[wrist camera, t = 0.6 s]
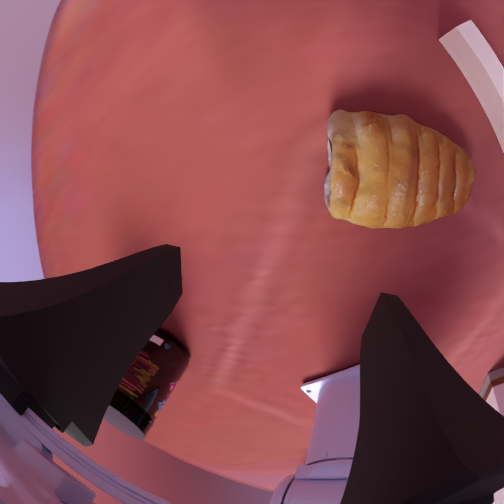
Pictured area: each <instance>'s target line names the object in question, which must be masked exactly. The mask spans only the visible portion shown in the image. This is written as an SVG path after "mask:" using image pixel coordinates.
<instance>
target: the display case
mask: <svg viewBox="0 0 504 504" xmlns="http://www.w3.org/2000/svg"><path fill="white" fill-rule="evenodd" d="M479 395H480V396H481V397H482V398H483V399H484V400H485V401H486V402H487V403H488V404H489V405H491V406H492V407H493V408H494V409H495V410H497V411H498V412H499V413H500V414H502V415H503V416H504V367H503V368H500V369H497V370H495V371H492V372H489V373H488V374H487V376H486V379H485V381H484V384H483V386H482V388H481V391H480V393H479ZM493 504H504V488H502V489H501V490H499V491H497V492H495V493H494V502H493Z"/></svg>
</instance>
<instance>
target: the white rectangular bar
mask: <svg viewBox="0 0 504 504" xmlns="http://www.w3.org/2000/svg"><path fill="white" fill-rule="evenodd" d="M438 40H439V41H440V43H441V44H442V45H443V46H444V48H445V49H446V50H447V52H448V53H449V55H450V56H451V57H452V59H453V60H454V62H455V63H456V64H457V66H458V67H459V69H460V70H461V72H462V74H463V75H464V77H465V78H466V80H467V81H468V83H469V85H470V86H471V88H472V90H473V91H474V93H475V95H476V97H477V98H478V100H479V102H480V104H481V106H482V108H483V109H484V111H485V113H486V115H487V117H488V119H489V121H490V123H491V125H492V128H493V130H494V132H495V134H496V136H497V139H498V141H499V143H500V146H501V148H502V150H503V153H504V68H503V66H502V64H501V63H500V61H499V59H498V58H497V56H496V55H495V53H494V51H493V50H492V48H491V47H490V45H489V44H488V42H487V41H486V39H485V38H484V37H483V35H482V34H481V32H480V31H479V30H478V28H477V27H476V26H475V24H474V23H473V22H472V20H469V21H467V22H465V23H463V24H461V25H459V26H457V27H455V28H454V29H452V30H451V31H449V32H448V33H446V34H445V35H444V36H442V37H441V38H440V39H438Z"/></svg>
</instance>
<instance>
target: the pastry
mask: <svg viewBox="0 0 504 504" xmlns="http://www.w3.org/2000/svg"><path fill="white" fill-rule="evenodd" d="M327 131H328V132H327V136H328V159H329V166H330V170H329V173H328V175H327V177H326V179H325V184H324V188H325V193H324V197H325V203H326V205H327V207H328V210H329V212H330V214H331V215H332V217H334V218H335V219H343V220H347V221H350V222H351V223H353V224H357V225H361V226H366V227H369V228H373V229H376V228H387V227H388V228H398V229H400V228H403V227H415V226H418V225H420V224H422V223H430V222H432V221H433V220H434V219H437V218H440V217H444V216H448V215H452V214H454V213H456V212H458V211H460V210H461V209H462V208H463V206H464V205H465V203H466V202H467V200H468V197H469V194H470V191H471V187H472V183H473V181H474V179H475V174H476V172H475V168H474V166H473V164H472V163H471V161H470V159H469V157H468V155H467V154H466V152H465V151H464V149H462V148H461V147H460V146H458V145H456V144H455V143H454V142H452V141H451V140H450V139H449V138H448V137H447V136H445V135H442V134H441V133H440V132H438V131H437V130H434V129H431V128H429V127H426V126H422V125H420V124H418V123H417V122H415V121H413V120H412V119H411V118H410V117H408V116H406V115H403V114H397V115H393V116H391V115H384V114H378V113H376V112H372V111H360V112H347V111H344V110H336V111H334V112H333V113H332V114H331V116H330V117H329V119H328V128H327Z"/></svg>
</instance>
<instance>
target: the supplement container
mask: <svg viewBox="0 0 504 504" xmlns="http://www.w3.org/2000/svg"><path fill="white" fill-rule="evenodd" d="M188 361H189V360H188V355H187V352H186V350H185V348H184V347H183V345H182V344H181V343H180V342H179V341H178V340H177V339H176V338H175V337H174V336H172V335H171V334H169V333H168V332H166V331H164V330H162V329H158V330H157V331H156V332H155V333H154V335H153V336H152V337H151V338H150V340H149V341H148V342H147V343H146V345H145V346H144V347H143V349H142V350H141V351H140V352H139V354H138V355H137V356H136V358H135V359H134V361H133V362H132V364H131V365H130V367H129V369H128V370H127V372H126V374H125V376H124V377H123V379H122V381H121V383H120V384H119V386H118V388H117V390H116V392H115V394H114V396H113V398H112V400H111V402H110V404H109V406H108V408H107V410H106V413H105V415H104V417H103V418H104V419H105V420H106V421H107V422H109V423H110V424H111V425H113V426H114V427H116V428H117V429H119V430H120V431H122V432H124V433H126V434H128V435H130V436H132V437H134V438H138V439H145V437H146V436H147V434H148V432H149V431H150V429H151V428H152V426H153V423H154V422H155V420H156V418H157V417H158V415H159V413H160V412H161V410H162V408H163V407H164V405H165V404H166V402H167V400H168V399H169V397H170V395H171V394H172V392H173V390H174V389H175V387H176V385H177V384H178V382H179V380H180V379H181V377H182V375H183V374H184V372H185V370H186V369H187V367H188Z"/></svg>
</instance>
